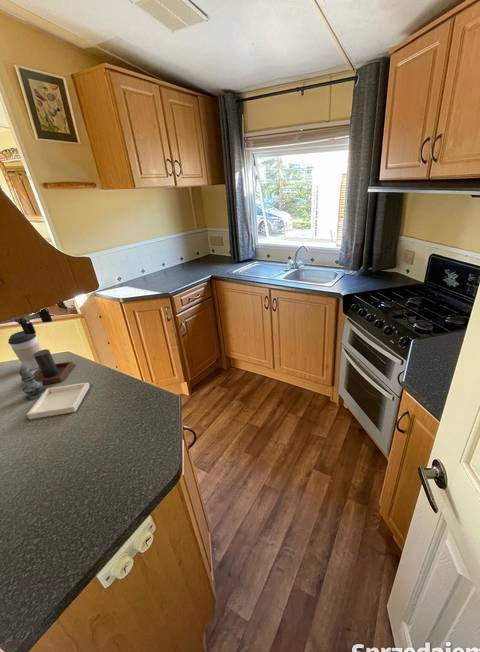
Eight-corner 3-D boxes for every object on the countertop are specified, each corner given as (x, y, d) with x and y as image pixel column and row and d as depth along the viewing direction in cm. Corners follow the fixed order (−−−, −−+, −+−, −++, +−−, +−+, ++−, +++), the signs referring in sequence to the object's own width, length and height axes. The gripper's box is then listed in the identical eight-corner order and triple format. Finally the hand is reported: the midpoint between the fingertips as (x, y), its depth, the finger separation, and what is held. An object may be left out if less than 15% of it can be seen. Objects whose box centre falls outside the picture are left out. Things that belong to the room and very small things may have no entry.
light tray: (29, 419, 92) (26, 414, 91) (49, 392, 104) (46, 388, 103) (75, 411, 94) (73, 406, 93) (89, 386, 106) (88, 382, 105)
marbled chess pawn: (49, 391, 105) (36, 363, 99) (32, 401, 100) (17, 372, 95) (40, 387, 107) (26, 360, 102) (22, 397, 102) (7, 369, 97)
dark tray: (27, 386, 108) (25, 382, 107) (42, 369, 118) (40, 365, 117) (61, 381, 110) (59, 377, 109) (73, 365, 120) (72, 361, 119)
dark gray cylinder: (41, 379, 111) (30, 357, 107) (47, 372, 116) (37, 350, 111) (55, 377, 112) (45, 355, 108) (61, 370, 116) (51, 348, 112)
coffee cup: (27, 373, 116) (11, 340, 110) (18, 367, 121) (1, 335, 114) (52, 362, 123) (37, 331, 117) (42, 357, 128) (27, 326, 121)
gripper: (24, 274, 102) (43, 318, 109) (-14, 289, 86) (11, 340, 94) (46, 272, 102) (63, 317, 110) (13, 287, 87) (35, 338, 94)
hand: (39, 327), depth 102 cm, fingers open, 9 cm apart
